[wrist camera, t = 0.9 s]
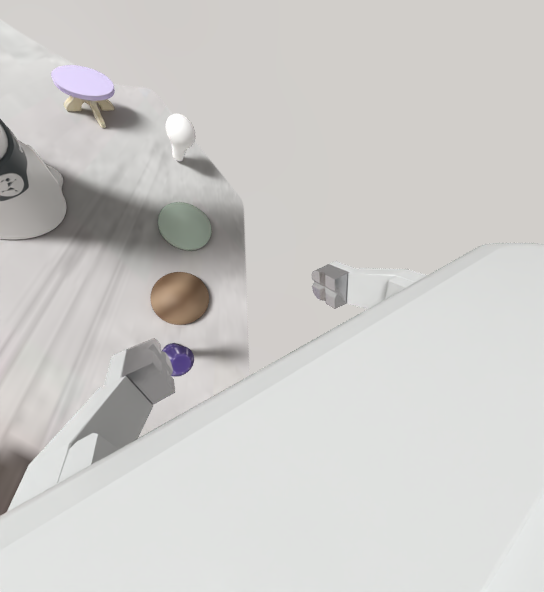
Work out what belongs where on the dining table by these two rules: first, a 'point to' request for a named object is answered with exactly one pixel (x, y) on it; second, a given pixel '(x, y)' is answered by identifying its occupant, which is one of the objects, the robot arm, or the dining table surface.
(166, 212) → the sage coaster
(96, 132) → the dining table surface
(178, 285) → the walnut coaster
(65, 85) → the toy table
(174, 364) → the toy lamp
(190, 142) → the lightbulb
